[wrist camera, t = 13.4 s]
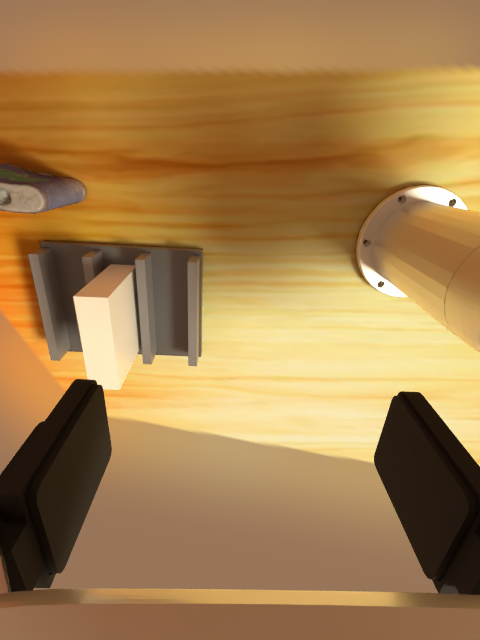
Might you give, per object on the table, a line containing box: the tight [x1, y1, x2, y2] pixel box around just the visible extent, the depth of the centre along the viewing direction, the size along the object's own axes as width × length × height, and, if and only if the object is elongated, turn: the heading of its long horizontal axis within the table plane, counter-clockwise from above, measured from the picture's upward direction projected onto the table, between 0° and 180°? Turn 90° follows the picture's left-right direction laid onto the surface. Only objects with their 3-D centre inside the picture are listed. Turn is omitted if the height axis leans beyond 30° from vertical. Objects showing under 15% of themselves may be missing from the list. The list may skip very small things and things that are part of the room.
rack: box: [28, 241, 203, 366], centre depth 40 cm, size 18×14×4 cm
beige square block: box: [73, 264, 142, 390], centre depth 36 cm, size 3×10×10 cm, turn 177°
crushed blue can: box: [0, 163, 86, 214], centre depth 31 cm, size 9×3×11 cm, turn 77°
